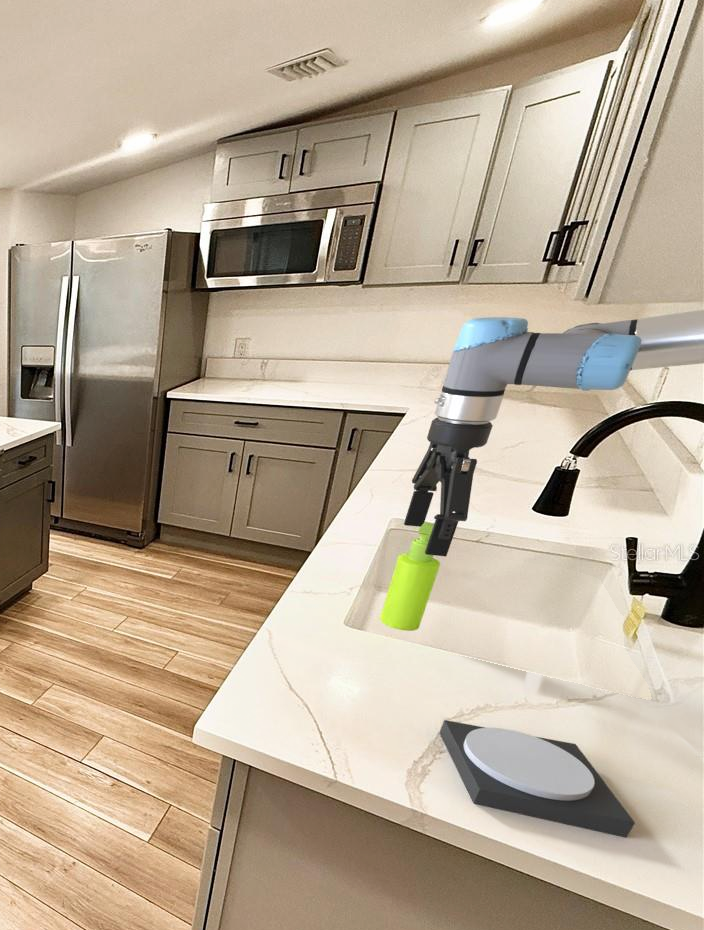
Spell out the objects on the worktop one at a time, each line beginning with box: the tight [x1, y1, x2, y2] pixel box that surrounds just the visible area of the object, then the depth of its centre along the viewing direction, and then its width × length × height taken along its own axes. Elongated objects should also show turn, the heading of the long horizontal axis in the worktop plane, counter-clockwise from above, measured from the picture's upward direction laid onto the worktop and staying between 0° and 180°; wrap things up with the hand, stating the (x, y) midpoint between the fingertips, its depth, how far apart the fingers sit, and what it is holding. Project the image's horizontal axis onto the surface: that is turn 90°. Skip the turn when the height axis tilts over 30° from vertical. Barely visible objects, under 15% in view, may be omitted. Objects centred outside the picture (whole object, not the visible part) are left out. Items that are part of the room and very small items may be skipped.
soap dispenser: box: [379, 521, 441, 632], centre depth 111 cm, size 6×7×20 cm
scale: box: [439, 719, 636, 838], centre depth 79 cm, size 14×14×3 cm
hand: (423, 539), depth 108 cm, fingers open, 13 cm apart
